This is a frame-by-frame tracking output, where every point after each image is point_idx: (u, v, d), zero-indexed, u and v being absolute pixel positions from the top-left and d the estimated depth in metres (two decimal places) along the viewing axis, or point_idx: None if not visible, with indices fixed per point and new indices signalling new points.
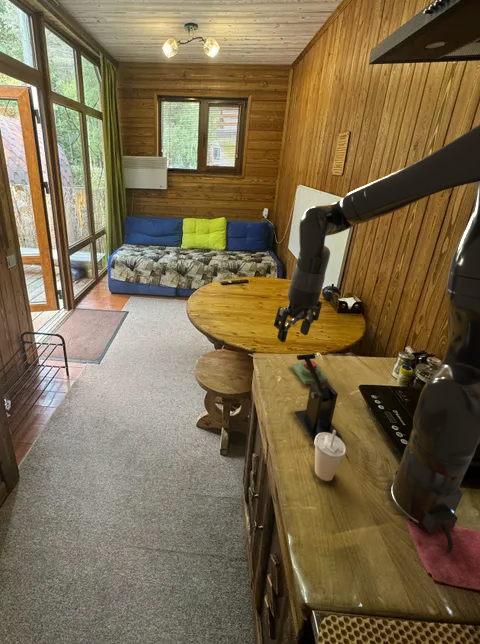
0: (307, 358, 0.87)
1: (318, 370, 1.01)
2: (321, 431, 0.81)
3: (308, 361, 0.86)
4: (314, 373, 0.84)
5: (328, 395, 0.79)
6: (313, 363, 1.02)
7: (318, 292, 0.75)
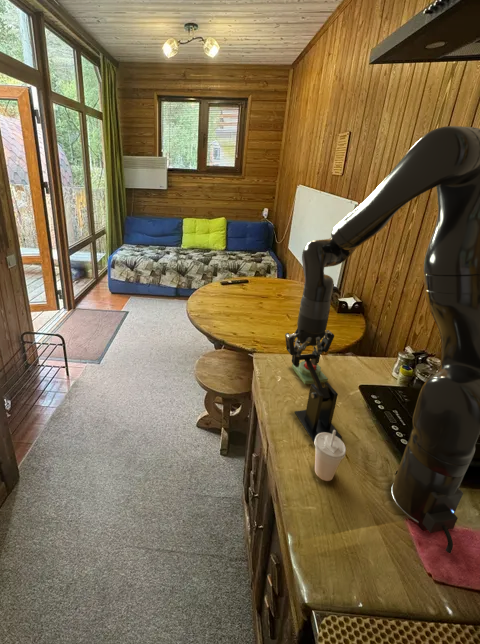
0: (307, 358, 0.87)
1: (318, 370, 1.01)
2: (321, 431, 0.81)
3: (308, 361, 0.86)
4: (314, 373, 0.84)
5: (328, 395, 0.79)
6: None
7: (322, 320, 0.80)
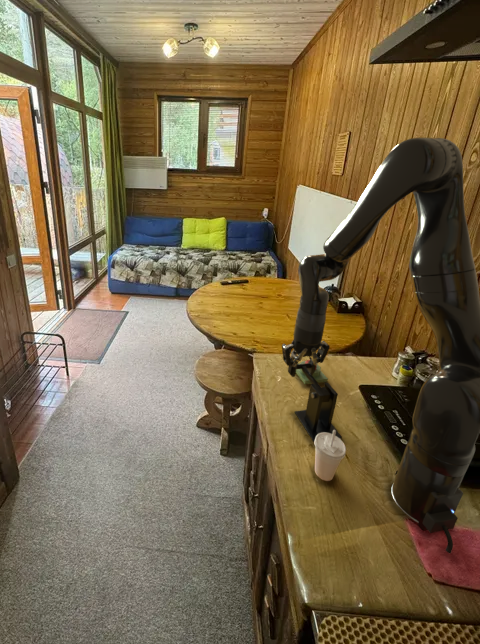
0: (303, 366, 0.89)
1: (318, 370, 1.01)
2: (321, 431, 0.81)
3: (304, 369, 0.88)
4: (312, 377, 0.85)
5: (327, 393, 0.79)
6: None
7: (317, 332, 0.82)
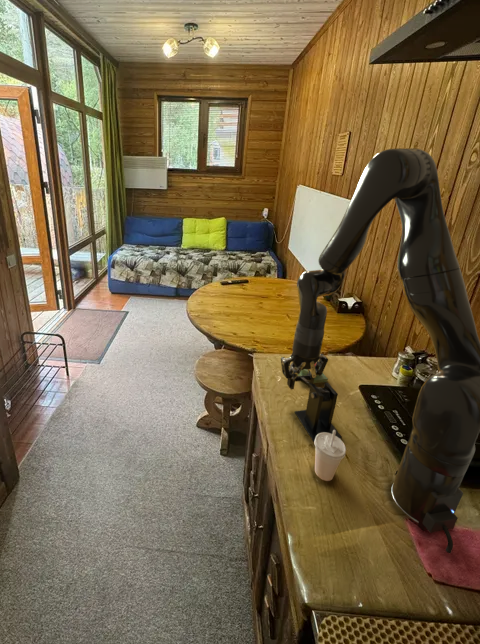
0: (302, 377, 0.90)
1: None
2: (321, 431, 0.81)
3: (303, 379, 0.89)
4: None
5: (327, 391, 0.79)
6: None
7: (316, 346, 0.83)
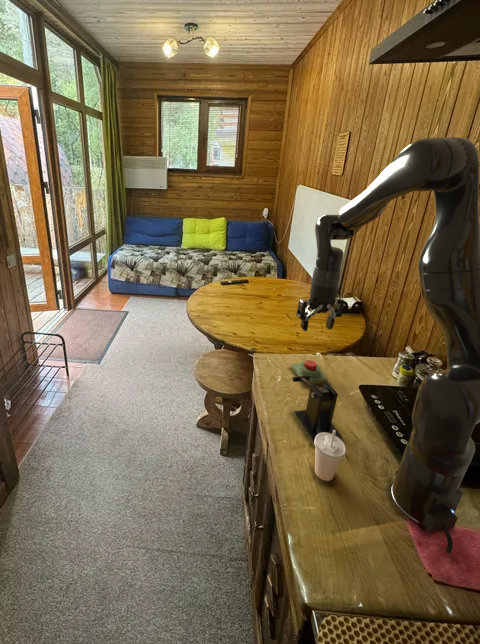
0: (302, 378, 0.90)
1: (318, 370, 1.01)
2: (321, 431, 0.81)
3: (303, 379, 0.89)
4: (310, 384, 0.85)
5: (327, 391, 0.79)
6: (313, 363, 1.02)
7: (333, 287, 0.89)
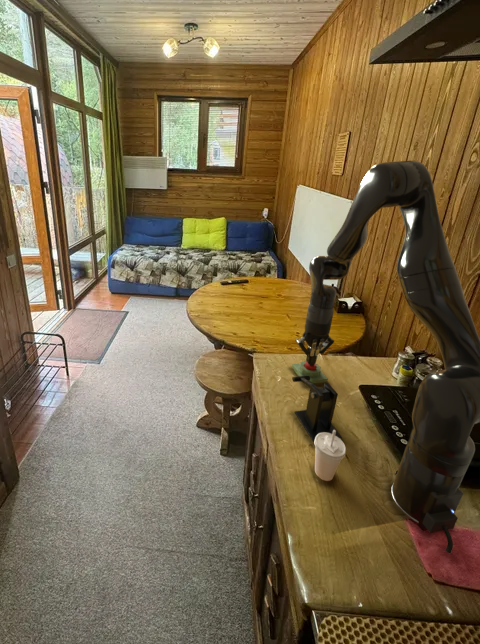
0: (302, 378, 0.90)
1: (318, 370, 1.01)
2: (321, 431, 0.81)
3: (303, 379, 0.89)
4: (310, 384, 0.85)
5: (327, 391, 0.79)
6: None
7: (326, 324, 0.93)
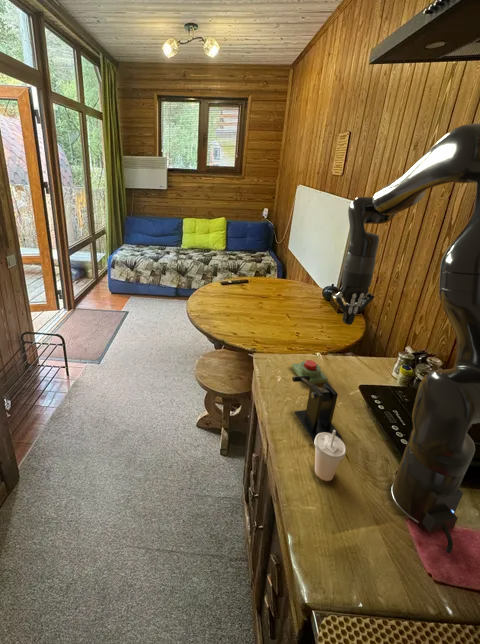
0: (302, 378, 0.90)
1: (318, 370, 1.01)
2: (321, 431, 0.81)
3: (303, 379, 0.89)
4: (310, 384, 0.85)
5: (327, 391, 0.79)
6: (313, 363, 1.02)
7: (368, 274, 0.84)
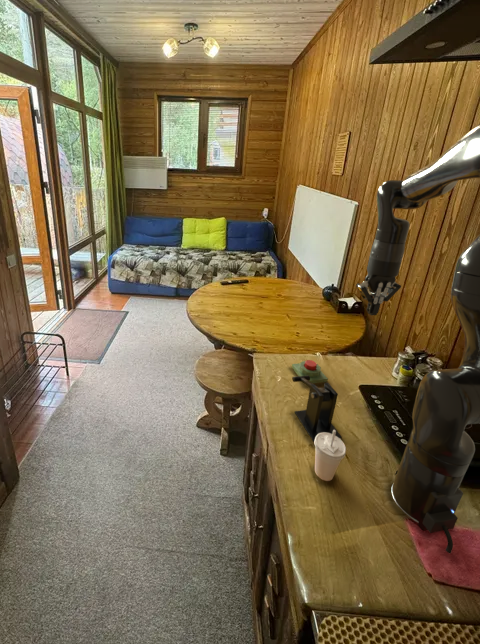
0: (302, 378, 0.90)
1: (318, 370, 1.01)
2: (321, 431, 0.81)
3: (303, 379, 0.89)
4: (310, 384, 0.85)
5: (327, 391, 0.79)
6: (313, 363, 1.02)
7: (396, 262, 0.80)
